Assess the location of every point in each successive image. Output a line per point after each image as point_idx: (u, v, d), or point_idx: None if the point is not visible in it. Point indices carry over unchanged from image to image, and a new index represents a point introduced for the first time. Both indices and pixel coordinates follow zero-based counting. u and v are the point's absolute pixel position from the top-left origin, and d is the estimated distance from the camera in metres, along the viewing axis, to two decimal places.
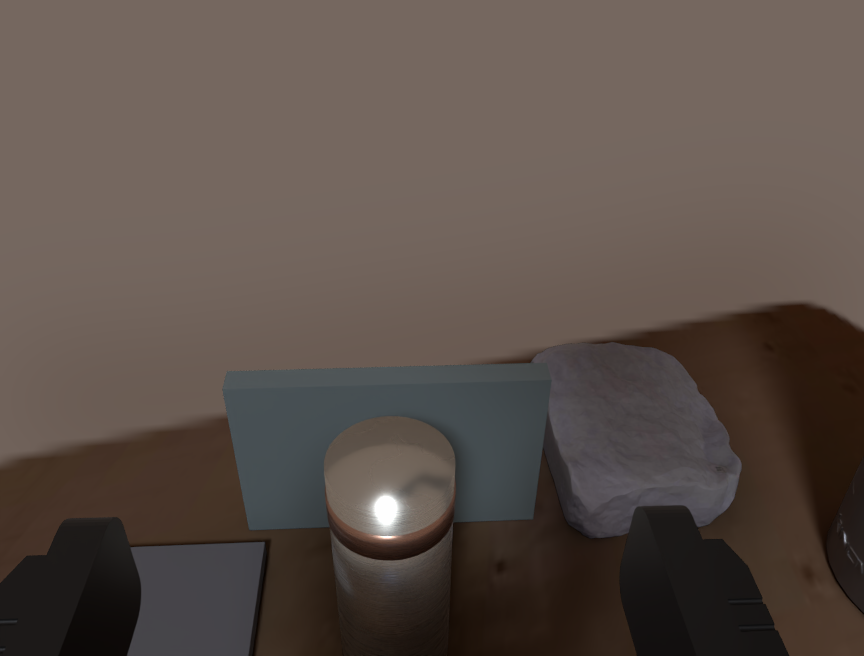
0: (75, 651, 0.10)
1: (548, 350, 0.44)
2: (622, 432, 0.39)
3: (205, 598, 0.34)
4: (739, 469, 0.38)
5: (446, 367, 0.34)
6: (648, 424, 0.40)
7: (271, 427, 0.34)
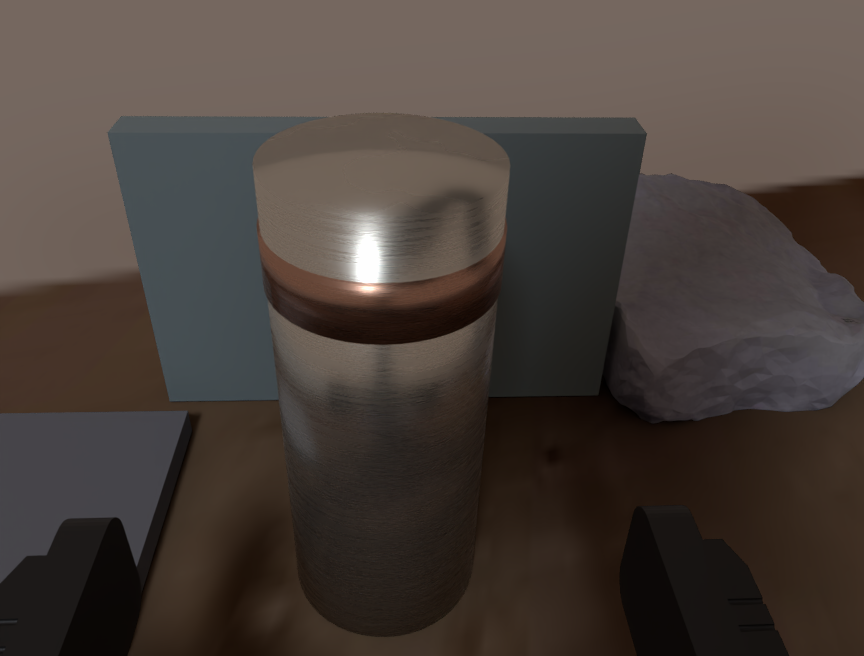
0: (75, 651, 0.10)
1: None
2: (697, 272, 0.26)
3: (80, 484, 0.21)
4: None
5: (474, 119, 0.21)
6: (734, 263, 0.27)
7: (192, 212, 0.21)
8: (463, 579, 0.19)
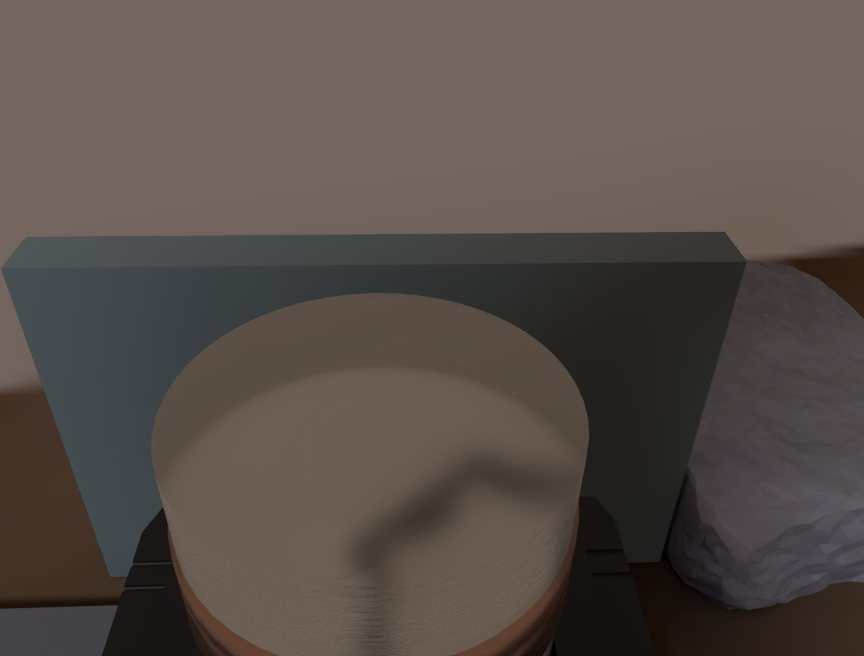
0: None
1: None
2: (775, 401, 0.21)
3: None
4: None
5: (508, 236, 0.15)
6: (819, 386, 0.21)
7: (126, 363, 0.16)
8: None
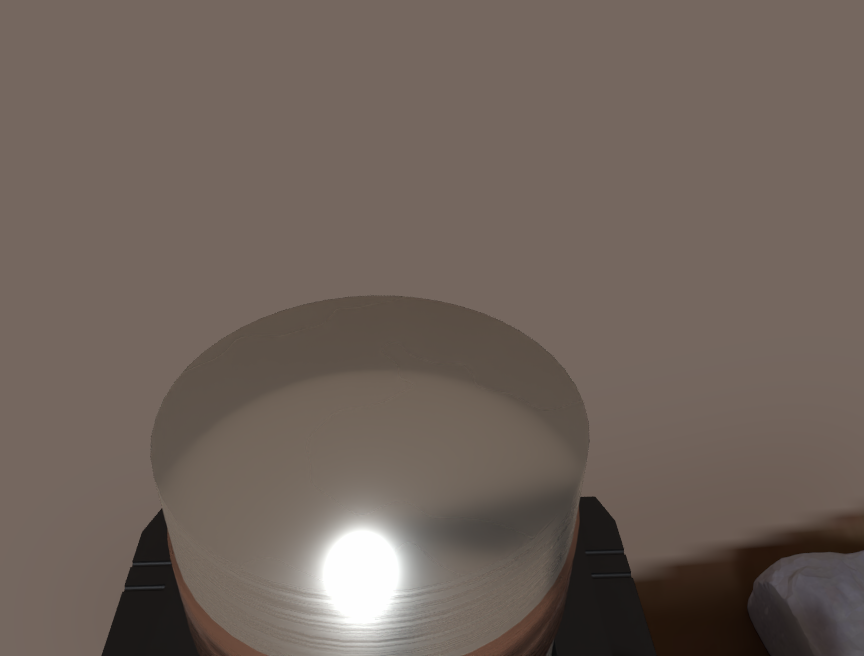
0: None
1: (787, 566, 0.34)
2: None
3: None
4: None
5: None
6: None
7: None
8: None
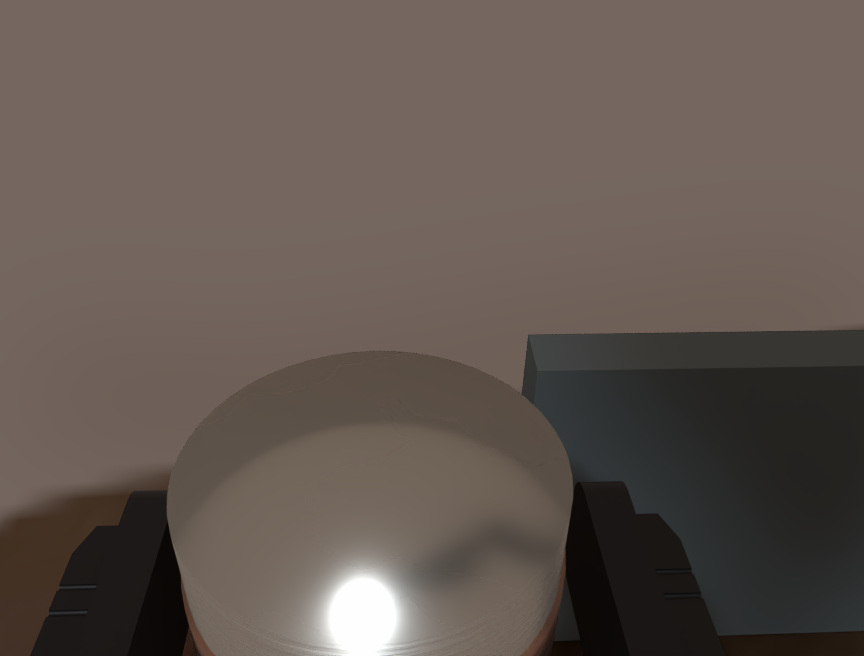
0: (151, 614, 0.10)
1: None
2: None
3: None
4: None
5: None
6: None
7: (612, 453, 0.16)
8: None
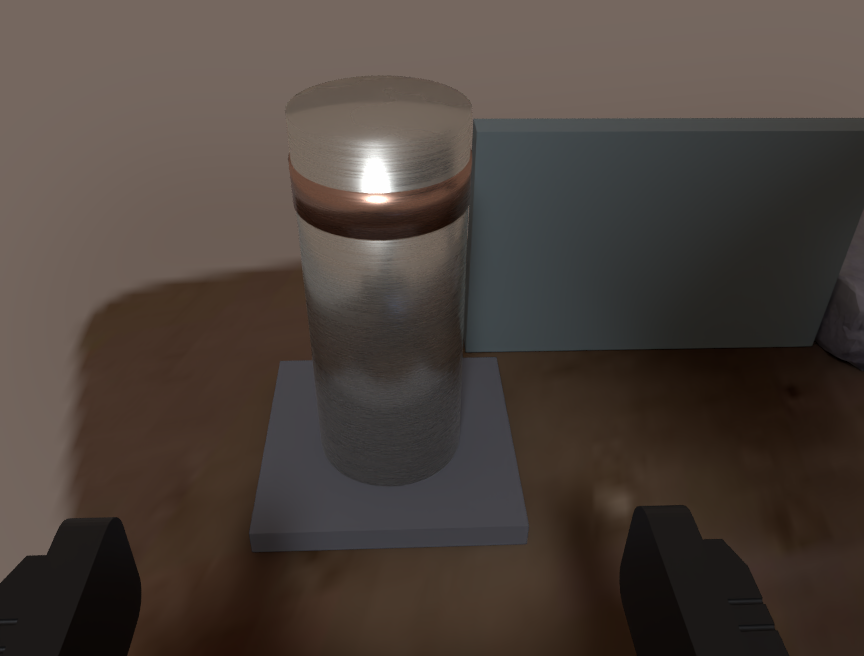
0: (75, 651, 0.10)
1: None
2: None
3: None
4: None
5: (750, 119, 0.26)
6: None
7: (525, 195, 0.26)
8: (451, 443, 0.24)
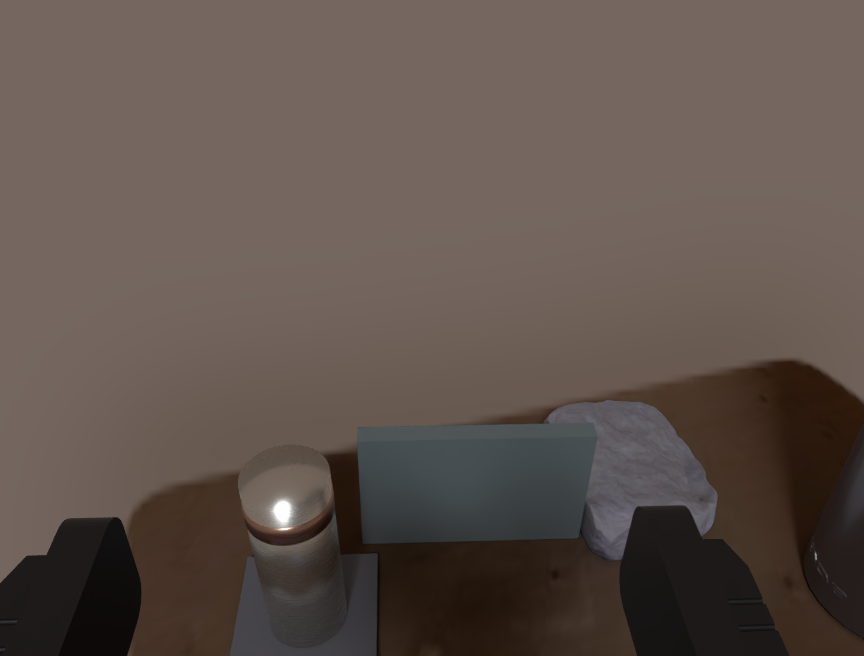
0: (75, 651, 0.10)
1: (558, 410, 0.55)
2: (626, 476, 0.50)
3: None
4: (716, 498, 0.50)
5: (519, 425, 0.46)
6: (644, 467, 0.51)
7: (389, 468, 0.46)
8: (337, 623, 0.43)
